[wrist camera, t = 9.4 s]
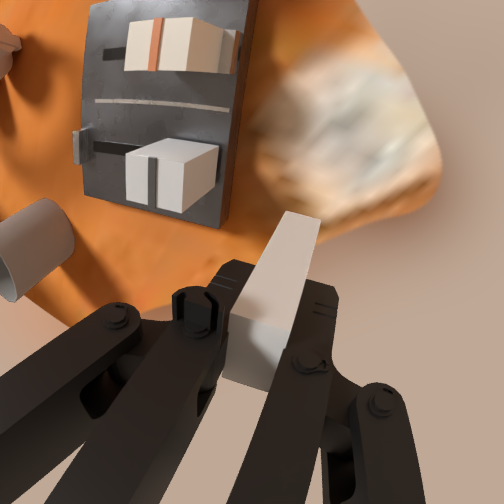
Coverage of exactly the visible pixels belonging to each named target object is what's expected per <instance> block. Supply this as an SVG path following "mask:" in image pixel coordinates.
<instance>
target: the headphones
mask: <svg viewBox="0 0 504 504" xmlns="http://www.w3.org/2000/svg"><path fill="white" fill-rule="evenodd" d="M20 49H22V46H21V42H20V37H18V36H16V35H13V34H12V33H11V32H10V31H9V29H8V28H6V27H5V26H4V25H2V24H0V80H1V79H2V78H3V77H4V76H5V75H6V74H7V73H8V72H9V71H10V70H11V68H12V64H13V57H12V52H13V51H18V50H20Z"/></svg>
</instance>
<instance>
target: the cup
mask: <svg viewBox="0 0 504 504" xmlns="http://www.w3.org/2000/svg"><path fill="white" fill-rule="evenodd" d="M74 245H75V238H74V234H73V230H72V226H71V224H70V222H69V220H68V218H67V216H66V215H65V213H64V211H63V210H62V209H61V208H60V207H59V206H58V205H57V204H56V203H55V202H54V201H52V200H49V199H47V198H43V199H41V200H38V201H36V202H35V203H33V204H31V205H29V206H27V207H26V208H24V209H22V210H20V211H19V212H17V213H15V214H14V215H12V216H10V217H9V218H7V219H5V220H4V221H2V222H0V295H1V296H3V297H4V298H5V299H7V301H9V302H16V301H17V300H18V299H19V298H21V297H22V296H23V295H24V294H25V293H26V292H28V291H29V290H30V289H31V288H32V287H33V286H35V285H36V284H37V283H38V282H39V281H41V280H42V279H43V278H44V277H46V276H47V275H48V274H49V273H50V272H52V271H53V270H54V269H55V268H57V267H58V266H59V265H61V264H62V263H63V262H64V261H66V260H67V259H68V258H69V257H70V256H71V255H72V253H73V252H74Z"/></svg>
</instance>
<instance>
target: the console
mask: <svg viewBox="0 0 504 504" xmlns="http://www.w3.org/2000/svg"><path fill="white" fill-rule="evenodd" d="M257 6H258V0H110V1H105V2H101V3H97V4H93V5H91V7H90V14H89V20H88V27H87V35H86V44H85V53H84V65H83V79H82V103H81V129H78V130H74V131H73V158H74V164H78V165H80V164H82V168H83V183H84V195H86V196H90V197H94V198H98V199H102V200H106V201H110V202H114V203H118V204H122V205H126V206H130V207H134V208H138V209H142V210H146V211H150V212H154V213H158V214H162V215H165V216H169V217H173V218H177V219H181V220H185V221H189V222H193V223H196V224H200V225H204V226H208V227H212V228H216V229H220V227H221V226H222V225H223V224H224V223H225V222H226V221H227V220H228V214H229V205H230V197H231V188H232V180H233V172H234V164H235V156H236V148H237V141H238V133H239V126H240V118H241V111H242V104H243V97H244V90H245V83H246V76H247V69H248V63H249V56H250V50H251V43H252V37H253V31H254V24H255V18H256V12H257ZM184 17H194V18H197V19H199V20H202V21H205V22H207V23H210V24H212V25H215V26H217V27H219V28H222V29H224V31H223V37H222V44H221V51H220V58H219V65H218V72H217V73H210V72H195V71H168V70H157V71H148V70H135V71H124V66H125V56H126V47H127V39H128V31H129V24H130V22H135V21H144V20H154V18H164V19H166V18H184ZM166 138H172V139H179V140H186V141H192V142H198V143H205V144H211V145H217V146H219V150H218V159H217V169H216V179H215V187H214V188H212V189H211V190H210V191H209V192H207V193H206V194H205V195H204V196H202V197H201V198H200V199H199V200H197V201H196V202H195V203H194V204H193V205H191V206H190V207H189V208H188V209H186V210H185V211H184V212H183V213H178V212H174V211H170V210H166V209H162V208H158V207H156V208H155V209H154V208H150V207H148V205H146V204H142V203H137V202H133V201H129V200H126V153H129V152H131V151H134V150H136V149H139V148H142V147H144V146H147V145H150V144H152V143H155V142H158V141H161V140H164V139H166Z"/></svg>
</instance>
